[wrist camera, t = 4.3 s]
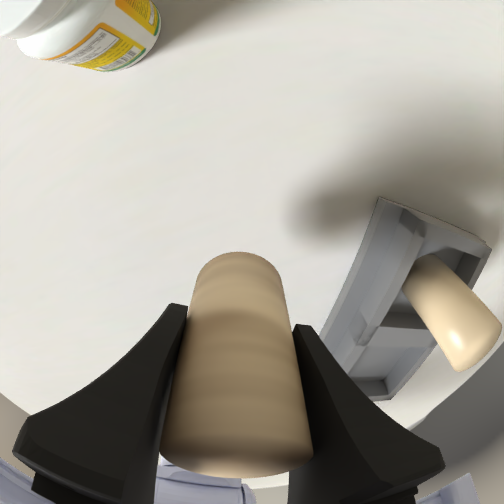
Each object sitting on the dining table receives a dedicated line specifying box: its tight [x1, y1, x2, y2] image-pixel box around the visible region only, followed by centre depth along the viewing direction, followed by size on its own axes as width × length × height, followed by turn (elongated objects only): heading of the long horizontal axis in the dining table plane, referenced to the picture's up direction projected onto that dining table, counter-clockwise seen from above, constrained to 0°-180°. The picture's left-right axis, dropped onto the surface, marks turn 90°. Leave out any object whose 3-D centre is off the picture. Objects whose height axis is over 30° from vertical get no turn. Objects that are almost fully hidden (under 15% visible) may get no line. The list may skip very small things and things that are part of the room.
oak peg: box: [159, 252, 314, 478], centre depth 9 cm, size 4×4×8 cm
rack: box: [319, 197, 502, 401], centre depth 17 cm, size 18×12×9 cm, turn 167°
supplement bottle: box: [0, 0, 161, 72], centre depth 7 cm, size 5×5×10 cm
